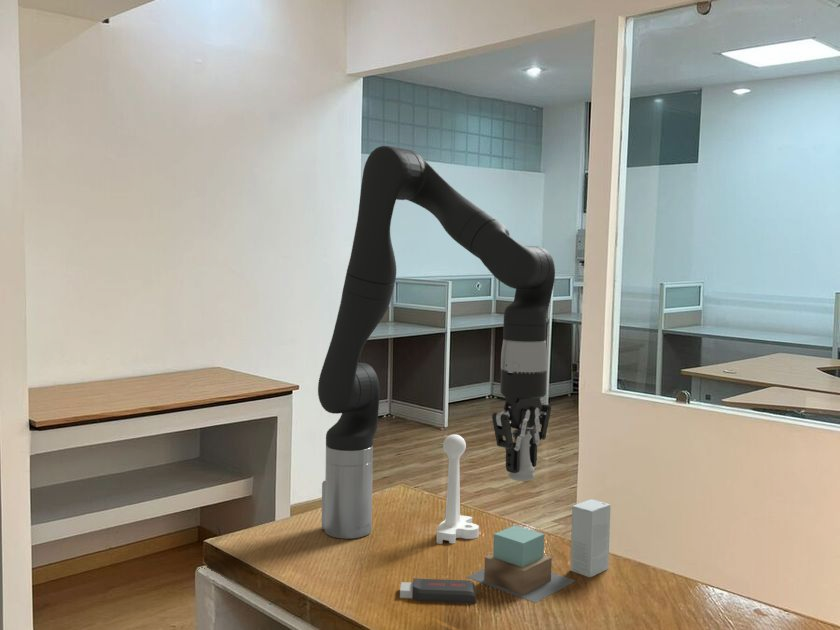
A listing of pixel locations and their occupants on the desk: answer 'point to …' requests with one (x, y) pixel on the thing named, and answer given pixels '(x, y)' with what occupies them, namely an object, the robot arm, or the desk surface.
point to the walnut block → (518, 574)
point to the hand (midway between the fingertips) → (521, 468)
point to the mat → (534, 595)
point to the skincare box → (590, 537)
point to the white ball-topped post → (455, 497)
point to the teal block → (518, 546)
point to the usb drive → (439, 590)
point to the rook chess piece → (524, 460)
